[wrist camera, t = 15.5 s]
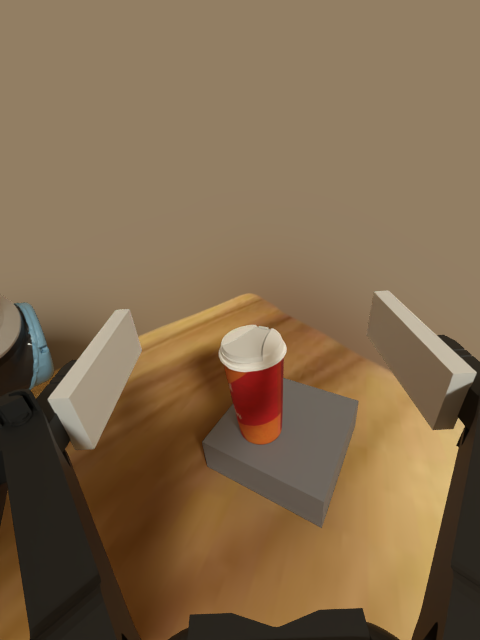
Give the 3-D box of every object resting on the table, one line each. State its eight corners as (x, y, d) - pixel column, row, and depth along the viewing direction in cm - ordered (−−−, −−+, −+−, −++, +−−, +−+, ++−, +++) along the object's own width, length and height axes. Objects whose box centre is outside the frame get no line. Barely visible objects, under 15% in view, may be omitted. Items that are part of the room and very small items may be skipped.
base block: (207, 466, 41) (201, 442, 38) (261, 392, 52) (259, 370, 50) (321, 527, 33) (323, 502, 30) (354, 425, 44) (358, 400, 42)
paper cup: (250, 399, 44) (239, 318, 37) (298, 416, 40) (296, 329, 34) (220, 439, 38) (202, 351, 32) (274, 463, 35) (266, 369, 28)
